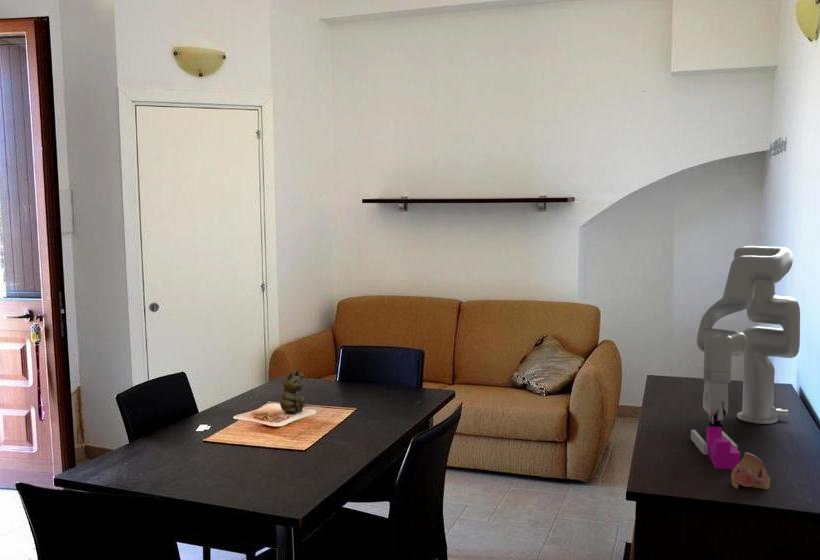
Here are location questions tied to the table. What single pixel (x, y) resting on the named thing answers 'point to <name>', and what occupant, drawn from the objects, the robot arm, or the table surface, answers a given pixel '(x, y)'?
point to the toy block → (721, 449)
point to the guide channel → (703, 445)
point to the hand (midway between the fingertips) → (715, 436)
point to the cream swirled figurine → (750, 473)
